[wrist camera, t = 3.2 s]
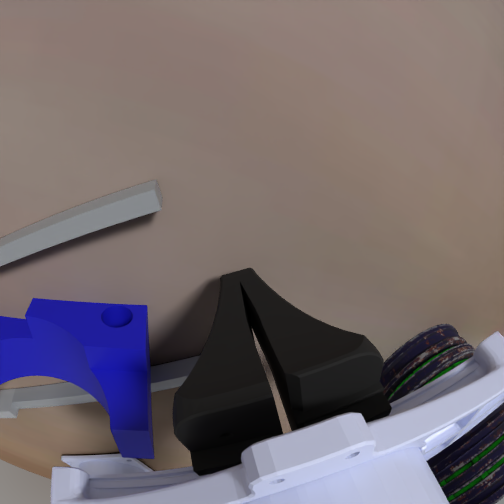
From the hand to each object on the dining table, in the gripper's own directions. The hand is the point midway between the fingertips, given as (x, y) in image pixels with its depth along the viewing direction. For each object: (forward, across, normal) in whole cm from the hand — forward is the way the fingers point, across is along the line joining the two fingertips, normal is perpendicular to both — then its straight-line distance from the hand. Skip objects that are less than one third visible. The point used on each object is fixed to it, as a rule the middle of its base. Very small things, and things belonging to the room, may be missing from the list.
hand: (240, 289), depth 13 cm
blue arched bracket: (+1, +11, 0) cm, 11 cm away
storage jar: (+1, -13, +15) cm, 20 cm away
